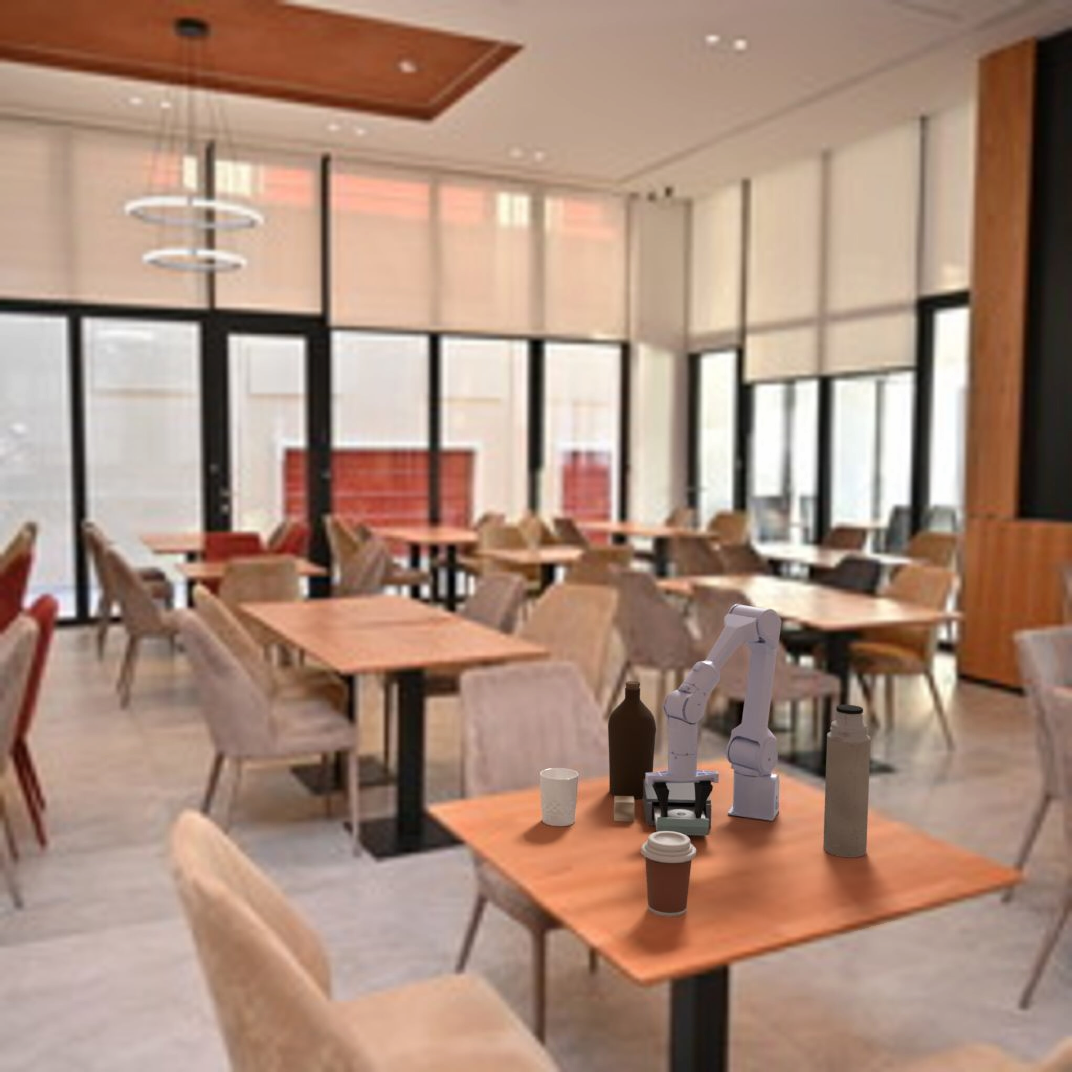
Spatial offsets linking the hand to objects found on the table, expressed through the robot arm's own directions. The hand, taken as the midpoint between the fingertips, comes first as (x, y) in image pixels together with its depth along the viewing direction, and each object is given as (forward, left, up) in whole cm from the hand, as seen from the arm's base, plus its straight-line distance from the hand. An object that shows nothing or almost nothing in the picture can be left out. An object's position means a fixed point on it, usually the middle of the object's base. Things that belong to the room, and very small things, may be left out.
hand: (681, 818), depth 213 cm
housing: (+4, -10, -3) cm, 11 cm away
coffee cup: (-7, +36, -3) cm, 37 cm away
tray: (+1, -1, -2) cm, 2 cm away
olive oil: (+17, -20, -3) cm, 26 cm away
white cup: (+25, +4, -3) cm, 25 cm away
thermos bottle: (-31, -4, -3) cm, 32 cm away
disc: (0, 0, -1) cm, 1 cm away
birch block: (+13, -4, -3) cm, 14 cm away
